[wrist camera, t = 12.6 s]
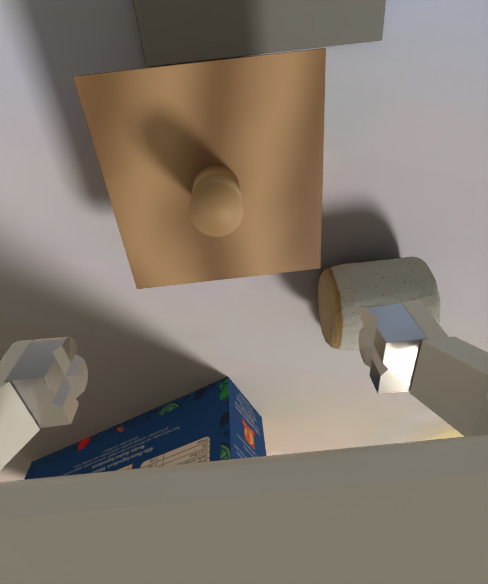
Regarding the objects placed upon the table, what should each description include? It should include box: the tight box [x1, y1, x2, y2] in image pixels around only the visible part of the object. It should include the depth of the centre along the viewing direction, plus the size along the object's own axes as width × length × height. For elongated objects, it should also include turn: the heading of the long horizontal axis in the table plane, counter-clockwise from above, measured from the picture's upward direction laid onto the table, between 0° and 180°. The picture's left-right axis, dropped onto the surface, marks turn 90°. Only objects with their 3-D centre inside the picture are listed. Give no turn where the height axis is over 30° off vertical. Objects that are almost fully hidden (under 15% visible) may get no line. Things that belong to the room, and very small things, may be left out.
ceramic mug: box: [318, 257, 440, 350], centre depth 32 cm, size 11×8×8 cm
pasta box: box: [24, 377, 266, 480], centre depth 33 cm, size 28×8×28 cm, turn 118°
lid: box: [73, 48, 326, 289], centre depth 21 cm, size 13×13×5 cm
